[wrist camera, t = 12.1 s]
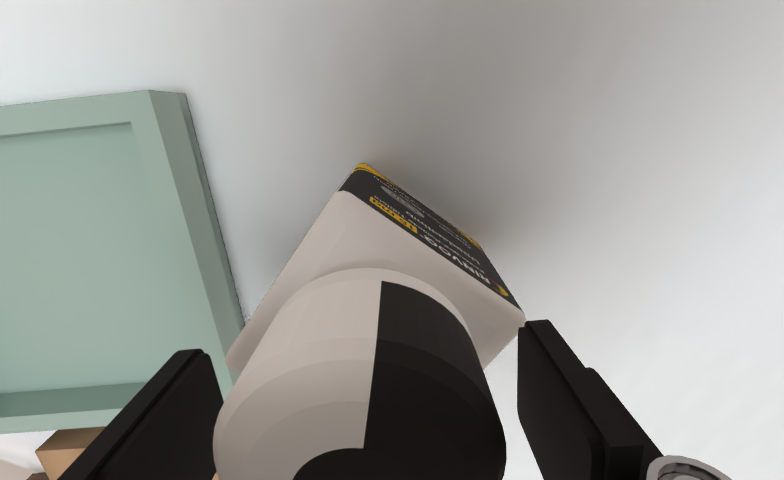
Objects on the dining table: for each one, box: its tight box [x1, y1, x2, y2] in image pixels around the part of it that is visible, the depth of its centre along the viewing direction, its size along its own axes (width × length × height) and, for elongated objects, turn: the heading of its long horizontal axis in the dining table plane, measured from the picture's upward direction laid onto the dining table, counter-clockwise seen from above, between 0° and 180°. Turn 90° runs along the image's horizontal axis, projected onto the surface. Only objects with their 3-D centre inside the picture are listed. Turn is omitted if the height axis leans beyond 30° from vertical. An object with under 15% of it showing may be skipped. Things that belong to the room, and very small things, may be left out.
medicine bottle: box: [213, 163, 526, 480], centre depth 13 cm, size 7×7×12 cm
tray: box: [0, 90, 245, 434], centre depth 17 cm, size 15×15×2 cm
